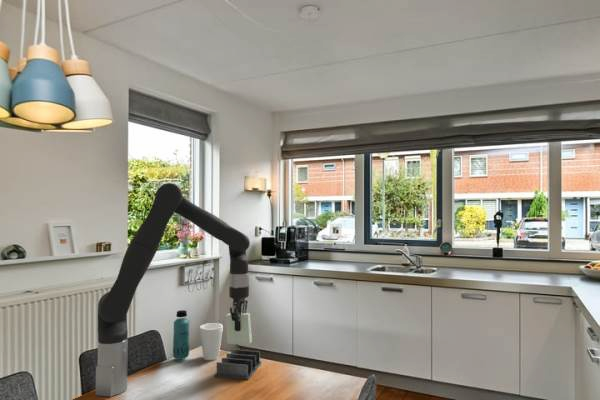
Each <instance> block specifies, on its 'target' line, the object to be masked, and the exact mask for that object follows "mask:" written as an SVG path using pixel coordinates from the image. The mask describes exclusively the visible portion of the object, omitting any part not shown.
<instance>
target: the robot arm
mask: <svg viewBox="0 0 600 400" xmlns="http://www.w3.org/2000/svg"><path fill="white" fill-rule="evenodd" d="M174 214H177V215H178V216H180V217H182V218H184V219H187V220H188V221H189V222H190V223H192V224H193V225H195V226H197V227H198V228H200V230H202V231H204V232H206V233H207V234H208V235H211V236H212V237H213V238H215V239H216V240H218V241H221V242H223V243H224V244H225V245H227V247H228V252H229V260H230V262H229V278H228V279H229V281H228V283H229V284H228V286H229V287H228V296H229V298H230V299H232V301H233V302H232V307H230V308H229V311H230V313H231V318H232V321H235V331H240V330H241V315H242V313H247V310H248V309H247V308H248V302H249V301H248V300H246V299H248V298H249V296H250V293H249V292H250V277H249V261H248V258H247V250H248V249H249V247H250V244H251V243H250V239H249V236H247V235H246V234H245V233H243V232H242V231H239V230H238V229H236V228H234V227H233V226H231V225H229V224H228V223H227V222H225V220H222V219H221V218H219V217H218V216H216V215H215V214H213V213H211V212H209V211H207V210H206V209H203V208H201V207H200V206H198V205H196V204H195V203H193V202H191V201H190V200H189V199H188V198H186V197H185V195H184V194H183V192H182V188H180V186H179V185H177V184H176V183H172V182H168V183H164V184H162V185H160V186H159V187H158V188H157V190H156V191H155V197H154V200H153V203H152V205H151V208H150V210H149V212H148V214H147V216H146V217H145V219H144V220H143V221H142V223H141V225H139V227H138V229H137V230H136V232H135V234H134V236H133V237H132V239H131V241H130V242H129V244H128V247H127V248H126V251H125V254H124V256H123V258H122V261H121V265H120V268H119V272H118V275H117V278H116V280H115V281H114V283H113V285H112V286H111V288H110V290H109V291H108V292H106V293H104V294H103V295H102V296H101V297H100V299H99V300H98V304H97V366H95V396H102V397H108V398H109V397H110V398H111V397H113V396H116V395H119V394H122V393H124V392H125V391H126V390H127V389H128V343H129V341H128V340H129V339H128V338H129V337H128V335H129V334H128V333H129V332H128V320H127V319H128V312H129V310H130V307H131V304H132V301H133V299H134V296H135V294H136V292H137V288H138V286H139V285H140V282H141V281H142V279H143V277H144V276H145V274H146V273H147V271H148V268H149V266H150V265H151V263H152V261H153V259H154V257H155V255H156V253H157V251H158V249H159V246H160V244H161V242H162V239H163V237H164V234H165V231H166V228H167V226H168V223H169V222H170V220H171V218H172V216H173V215H174ZM230 313H229V314H230ZM238 315H239V316H238Z"/></svg>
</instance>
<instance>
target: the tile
mask: <svg viewBox="0 0 600 400" xmlns="http://www.w3.org/2000/svg"><path fill="white" fill-rule="evenodd" d="M238 316H239V315H238ZM251 323H252V322H251V312H246V313H242V315H241V330H240V331H235V321H232V318H231V313H227V314H226V315H225V325H226V327H225V328H226V339H227V340H226V341H227V344H228V345H249V344H251V343H253V336H252V324H251Z"/></svg>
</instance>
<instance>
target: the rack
mask: <svg viewBox="0 0 600 400" xmlns="http://www.w3.org/2000/svg"><path fill="white" fill-rule="evenodd" d="M261 364H262V360H261V351H260V350H249V349H248V350H247V349H235V348H232V349H230V353H228V352H227V353H226V357H221V362H218V361H217V362H216V372H215V373H214V378H222V379H223V378H224V379H225V378H226V379H237V380H245V381H248V380H249V379H251V377H252V376H253V374H254V373H255V372H256V371H257V370H258V368H259V367H260V366H261Z"/></svg>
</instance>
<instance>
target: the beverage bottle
mask: <svg viewBox="0 0 600 400" xmlns="http://www.w3.org/2000/svg"><path fill="white" fill-rule="evenodd" d="M187 316H188V314H187V310H185V309H182V310H177V311H176V319H175V320H174V321H173V340H172V342H173V344H172V356H173V357H172V358H174V359H175V360H176V359H178V360H182V359H186V358H188V357H189V356H190V355H189V354H190V320H189V319H188V318H186V317H187Z"/></svg>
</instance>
